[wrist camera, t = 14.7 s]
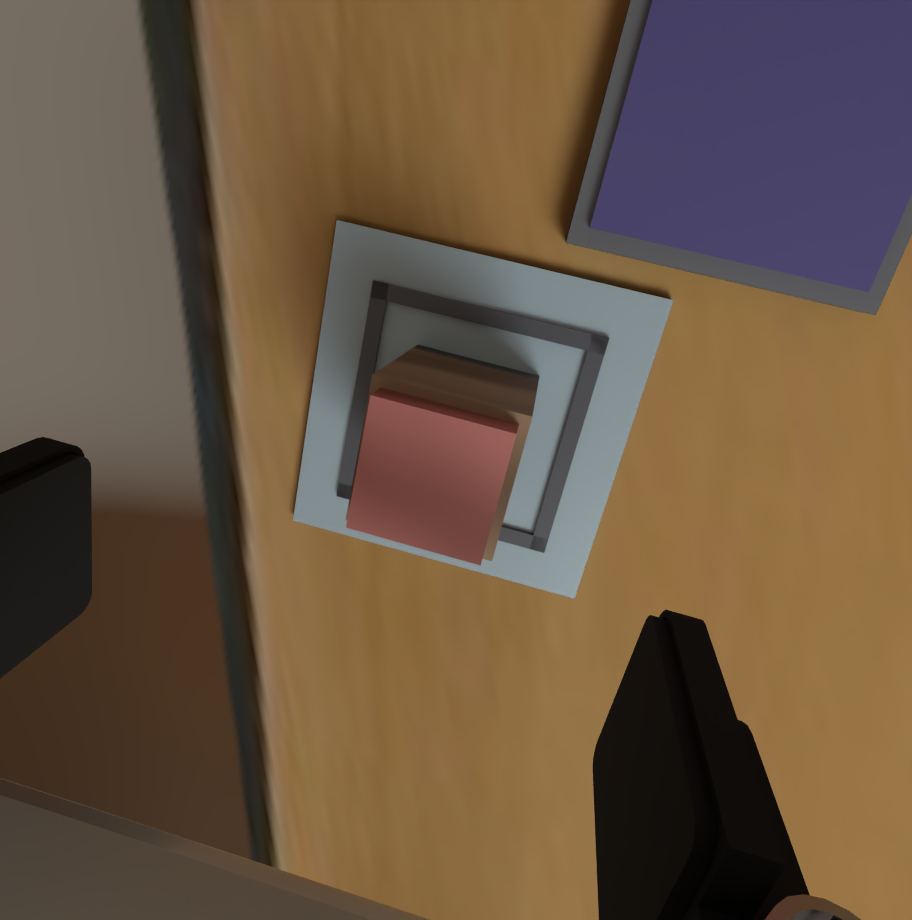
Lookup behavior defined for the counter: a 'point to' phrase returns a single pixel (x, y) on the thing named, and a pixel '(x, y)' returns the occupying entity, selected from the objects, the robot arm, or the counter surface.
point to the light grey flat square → (498, 342)
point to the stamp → (440, 452)
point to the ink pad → (758, 145)
